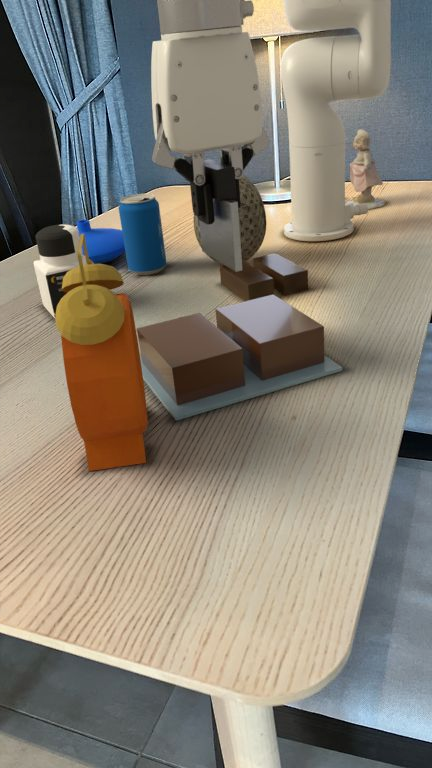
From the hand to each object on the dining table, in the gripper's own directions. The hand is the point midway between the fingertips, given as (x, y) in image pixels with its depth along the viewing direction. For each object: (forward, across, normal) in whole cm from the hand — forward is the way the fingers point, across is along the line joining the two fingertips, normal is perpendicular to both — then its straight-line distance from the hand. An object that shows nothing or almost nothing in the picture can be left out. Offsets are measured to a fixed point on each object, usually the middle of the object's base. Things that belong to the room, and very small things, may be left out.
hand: (217, 217), depth 70 cm
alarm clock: (+18, +16, +8) cm, 25 cm away
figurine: (+17, -53, -52) cm, 76 cm away
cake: (+18, 0, 0) cm, 18 cm away
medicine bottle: (+18, +12, -31) cm, 38 cm away
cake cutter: (+5, 0, 0) cm, 5 cm away
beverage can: (+18, -3, -40) cm, 44 cm away
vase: (+17, +4, -52) cm, 55 cm away
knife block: (+17, -15, -21) cm, 31 cm away
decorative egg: (+17, -16, -34) cm, 42 cm away
